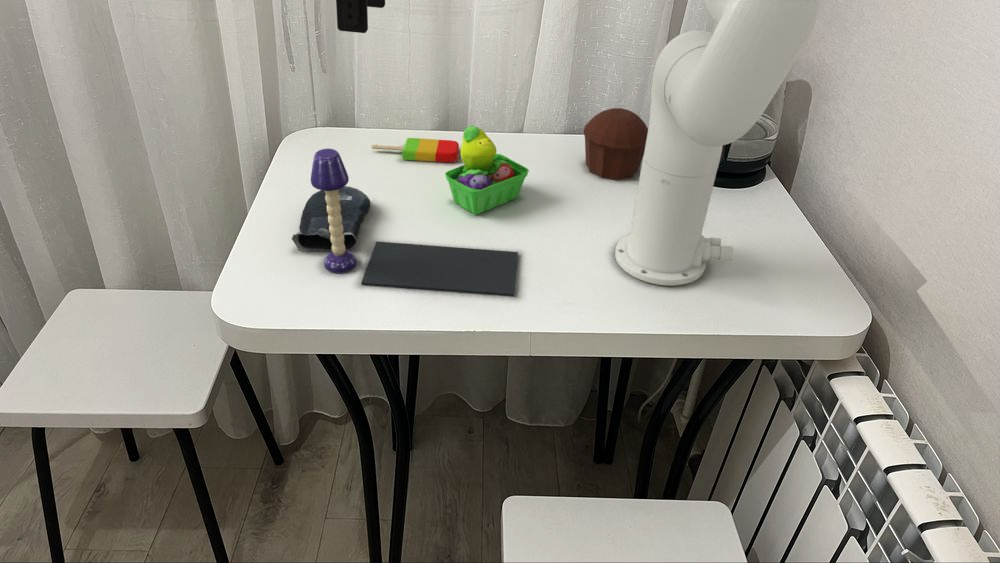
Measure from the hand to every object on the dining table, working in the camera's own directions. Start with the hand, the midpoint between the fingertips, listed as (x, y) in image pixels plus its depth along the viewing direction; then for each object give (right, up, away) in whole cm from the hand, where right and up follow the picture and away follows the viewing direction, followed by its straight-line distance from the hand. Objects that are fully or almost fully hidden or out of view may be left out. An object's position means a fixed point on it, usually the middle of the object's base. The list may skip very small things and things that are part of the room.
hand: (362, 18), depth 84 cm
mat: (+8, -28, +17) cm, 34 cm away
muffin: (+35, -11, +44) cm, 57 cm away
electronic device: (-8, -22, +25) cm, 34 cm away
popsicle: (+1, -8, +44) cm, 45 cm away
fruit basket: (+13, -17, +33) cm, 39 cm away
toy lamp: (-6, -28, +16) cm, 33 cm away
